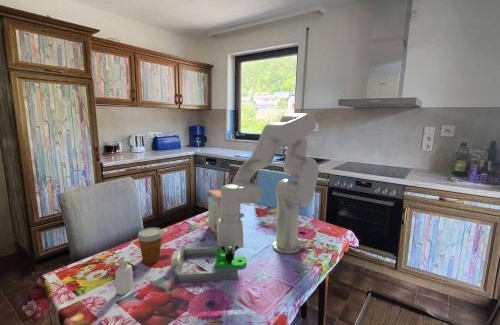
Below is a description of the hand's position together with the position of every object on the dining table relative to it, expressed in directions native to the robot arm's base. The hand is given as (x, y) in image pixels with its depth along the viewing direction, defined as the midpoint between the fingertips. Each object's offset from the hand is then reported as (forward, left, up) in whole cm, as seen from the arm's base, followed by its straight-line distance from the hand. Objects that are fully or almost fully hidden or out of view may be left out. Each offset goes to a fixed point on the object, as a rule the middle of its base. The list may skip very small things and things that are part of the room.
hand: (229, 261), depth 103 cm
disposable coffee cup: (+31, -7, -2) cm, 32 cm away
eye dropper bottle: (+35, +12, -2) cm, 37 cm away
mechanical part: (-1, -1, -3) cm, 3 cm away
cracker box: (+4, -32, -2) cm, 33 cm away
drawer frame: (+8, 0, -2) cm, 9 cm away
